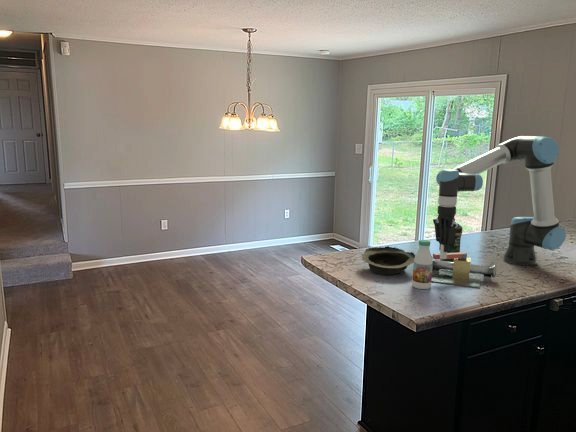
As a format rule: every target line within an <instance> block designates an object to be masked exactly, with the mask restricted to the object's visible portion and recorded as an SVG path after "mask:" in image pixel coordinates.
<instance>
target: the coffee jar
mask: <svg viewBox="0 0 576 432" xmlns="http://www.w3.org/2000/svg"><path fill="white" fill-rule="evenodd" d="M462 234H463V226H462V225H461V224H459V227H458V228H457V231H456V234H455V238H454V241H453V244H449V248H448V252H447V253H459V252H461V239H462ZM440 261H448V262H454V259H440Z"/></svg>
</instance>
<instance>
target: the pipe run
mask: <svg viewBox="0 0 576 432" xmlns="http://www.w3.org/2000/svg"><path fill="white" fill-rule="evenodd" d="M432 260H433V264H432V279H431V283H436V284H442V285H451V286H458V287H466V288H473V289H481V279H480V277H481V275H483V277H482V280H483V281H482V282H484V283H489V284H491V282H492V278H493V279H495V278H496V274H497V265H496V264H493V265H492V266H489V265H482V264H481V265H480V264H471V260H472V259H471V257H467V259H466V260H462V259H458V258H457V259H454V262H448V261H443V260H440V259H436V260H435V259H432Z"/></svg>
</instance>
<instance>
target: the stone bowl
mask: <svg viewBox="0 0 576 432" xmlns="http://www.w3.org/2000/svg"><path fill="white" fill-rule="evenodd" d="M415 255H416V254H415V253H414V252H412V251H406V250H404V249H402V248H399V247H395V246H394V247H392V246H389V245H386V246H384V247H383V246H378V247H377V246H376V247H368V248H366V249H365V250H364V252H363V253H361V259H362V261H364V262H365V264H367V265H368V267H369V270H371V272H373V273H374V274H378V275H384V276H389V275H395V274H398V273H401V272H403V271H406V269H407V268H408V267H409V266H410V265H412V264H414V258H415Z"/></svg>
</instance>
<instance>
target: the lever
mask: <svg viewBox="0 0 576 432" xmlns="http://www.w3.org/2000/svg"><path fill="white" fill-rule="evenodd" d="M467 256H468V253H467V252H463V251H462V252H461V251H460V252H459V253H447V259H457V258H458V259H462V260H466V259H467V258H468V257H467ZM432 260H441V259H440V252H437V253H432Z"/></svg>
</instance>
